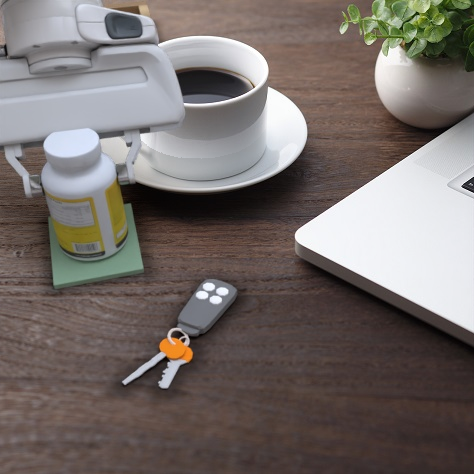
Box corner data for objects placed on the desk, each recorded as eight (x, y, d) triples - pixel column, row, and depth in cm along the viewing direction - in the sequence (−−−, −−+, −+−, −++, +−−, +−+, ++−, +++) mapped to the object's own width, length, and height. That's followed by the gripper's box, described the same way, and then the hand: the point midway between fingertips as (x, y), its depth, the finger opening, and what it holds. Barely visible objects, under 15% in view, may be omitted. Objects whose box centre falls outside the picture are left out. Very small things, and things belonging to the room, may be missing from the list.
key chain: (204, 284, 76) (203, 272, 75) (240, 296, 75) (239, 284, 74) (121, 385, 67) (118, 374, 66) (161, 401, 66) (158, 389, 65)
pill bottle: (122, 213, 82) (103, 114, 74) (135, 254, 77) (117, 154, 70) (54, 228, 80) (27, 128, 72) (64, 271, 75) (37, 169, 68)
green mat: (49, 221, 81) (47, 216, 81) (131, 207, 84) (130, 202, 83) (54, 290, 74) (53, 285, 74) (144, 273, 77) (143, 268, 76)
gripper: (-77, 40, 69) (-52, 203, 68) (170, 17, 74) (196, 169, 73) (-57, 62, 75) (-34, 211, 74) (170, 39, 80) (193, 179, 79)
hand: (82, 190), depth 74 cm, fingers closed on pill bottle, 6 cm apart
